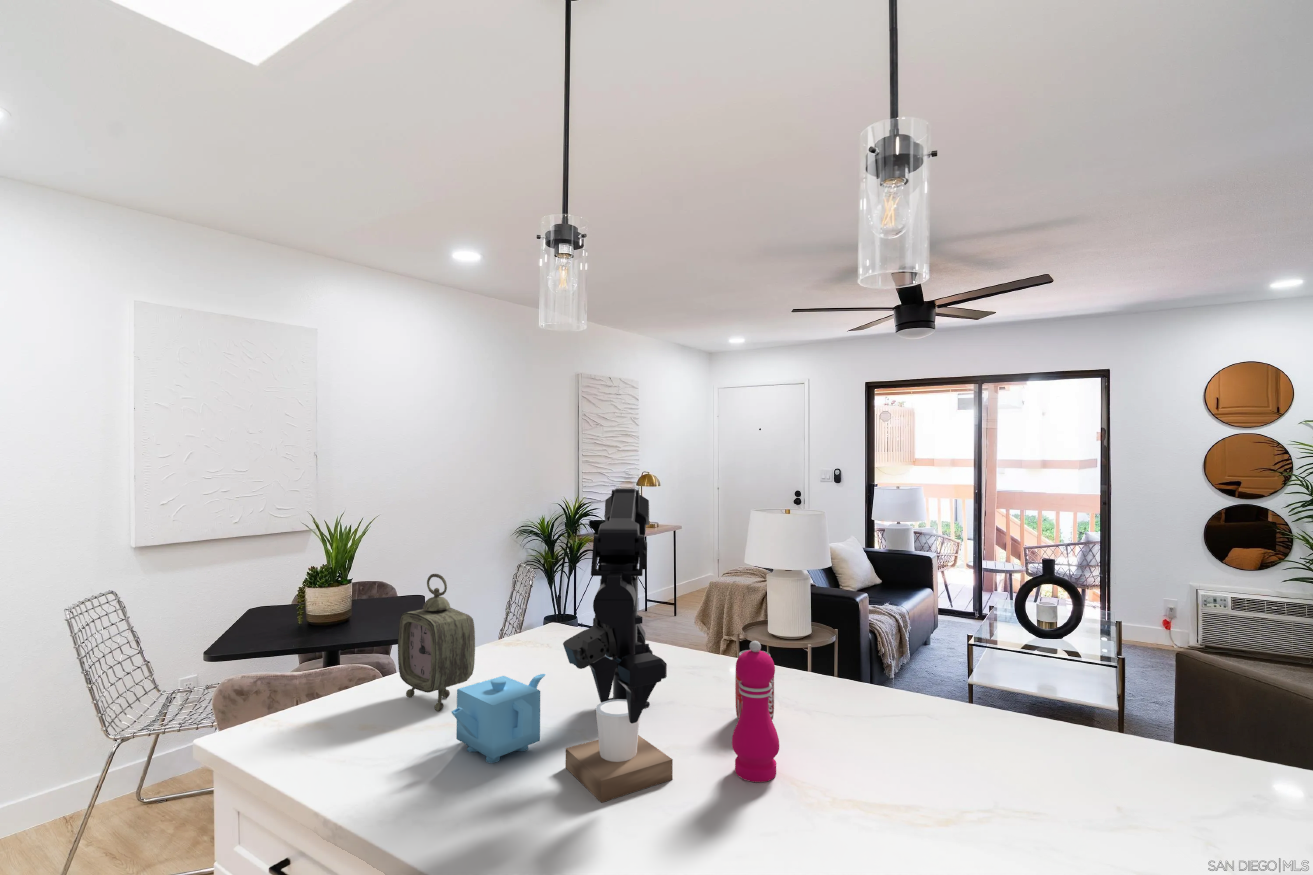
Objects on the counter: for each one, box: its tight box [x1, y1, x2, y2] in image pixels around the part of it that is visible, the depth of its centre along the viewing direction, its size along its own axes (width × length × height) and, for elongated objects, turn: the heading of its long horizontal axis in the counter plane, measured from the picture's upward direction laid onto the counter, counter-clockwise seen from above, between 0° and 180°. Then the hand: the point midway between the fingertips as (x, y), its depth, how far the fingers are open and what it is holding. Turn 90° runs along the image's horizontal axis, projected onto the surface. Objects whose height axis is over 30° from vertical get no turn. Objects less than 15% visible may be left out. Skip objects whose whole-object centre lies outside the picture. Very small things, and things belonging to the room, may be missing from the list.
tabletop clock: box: [397, 573, 476, 712], centre depth 128 cm, size 14×9×25 cm, turn 49°
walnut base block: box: [565, 734, 674, 803], centre depth 98 cm, size 12×12×3 cm
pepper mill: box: [731, 640, 780, 783], centre depth 99 cm, size 7×7×20 cm
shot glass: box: [595, 699, 641, 762], centre depth 98 cm, size 7×7×7 cm
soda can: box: [734, 649, 775, 720], centre depth 118 cm, size 7×7×12 cm
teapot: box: [451, 673, 546, 764], centre depth 107 cm, size 16×18×11 cm
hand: (618, 712), depth 98 cm, fingers open, 9 cm apart
